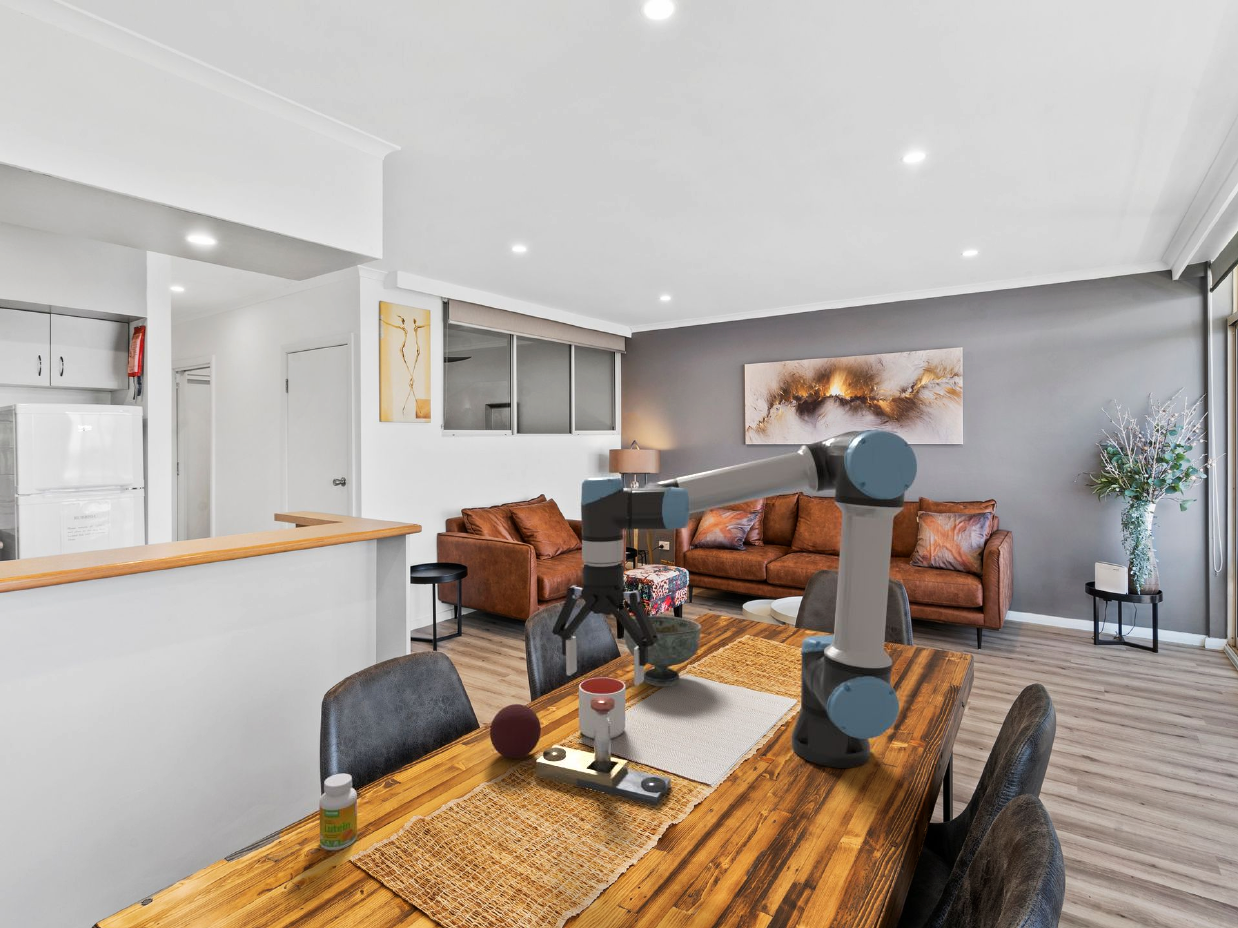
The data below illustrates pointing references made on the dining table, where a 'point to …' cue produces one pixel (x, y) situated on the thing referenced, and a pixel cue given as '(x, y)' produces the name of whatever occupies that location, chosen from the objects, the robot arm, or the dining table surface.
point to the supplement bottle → (338, 813)
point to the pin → (602, 733)
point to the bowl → (668, 647)
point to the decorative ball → (515, 731)
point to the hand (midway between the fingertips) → (604, 677)
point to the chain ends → (600, 775)
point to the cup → (598, 689)
